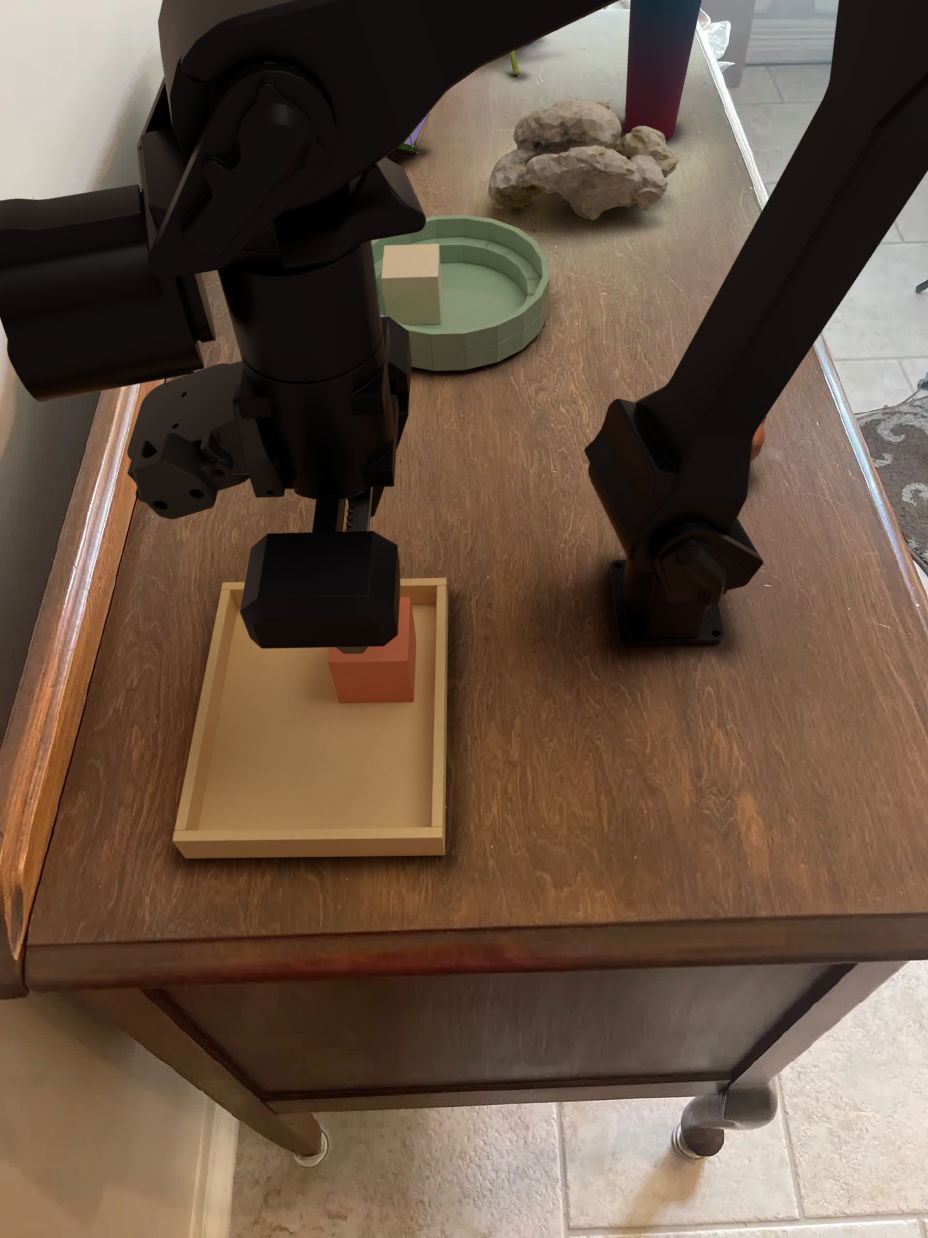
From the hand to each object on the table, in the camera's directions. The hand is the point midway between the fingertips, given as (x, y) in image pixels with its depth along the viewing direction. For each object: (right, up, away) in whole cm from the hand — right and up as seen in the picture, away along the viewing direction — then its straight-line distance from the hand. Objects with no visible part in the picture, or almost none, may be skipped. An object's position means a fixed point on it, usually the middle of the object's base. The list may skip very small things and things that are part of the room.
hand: (359, 579), depth 49 cm
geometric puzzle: (-1, +45, +44) cm, 63 cm away
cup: (+25, +48, +45) cm, 70 cm away
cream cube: (+1, +24, +28) cm, 37 cm away
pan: (+4, +24, +28) cm, 37 cm away
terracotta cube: (0, -5, +7) cm, 9 cm away
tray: (-3, -8, +6) cm, 10 cm away
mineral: (+17, +37, +37) cm, 55 cm away
